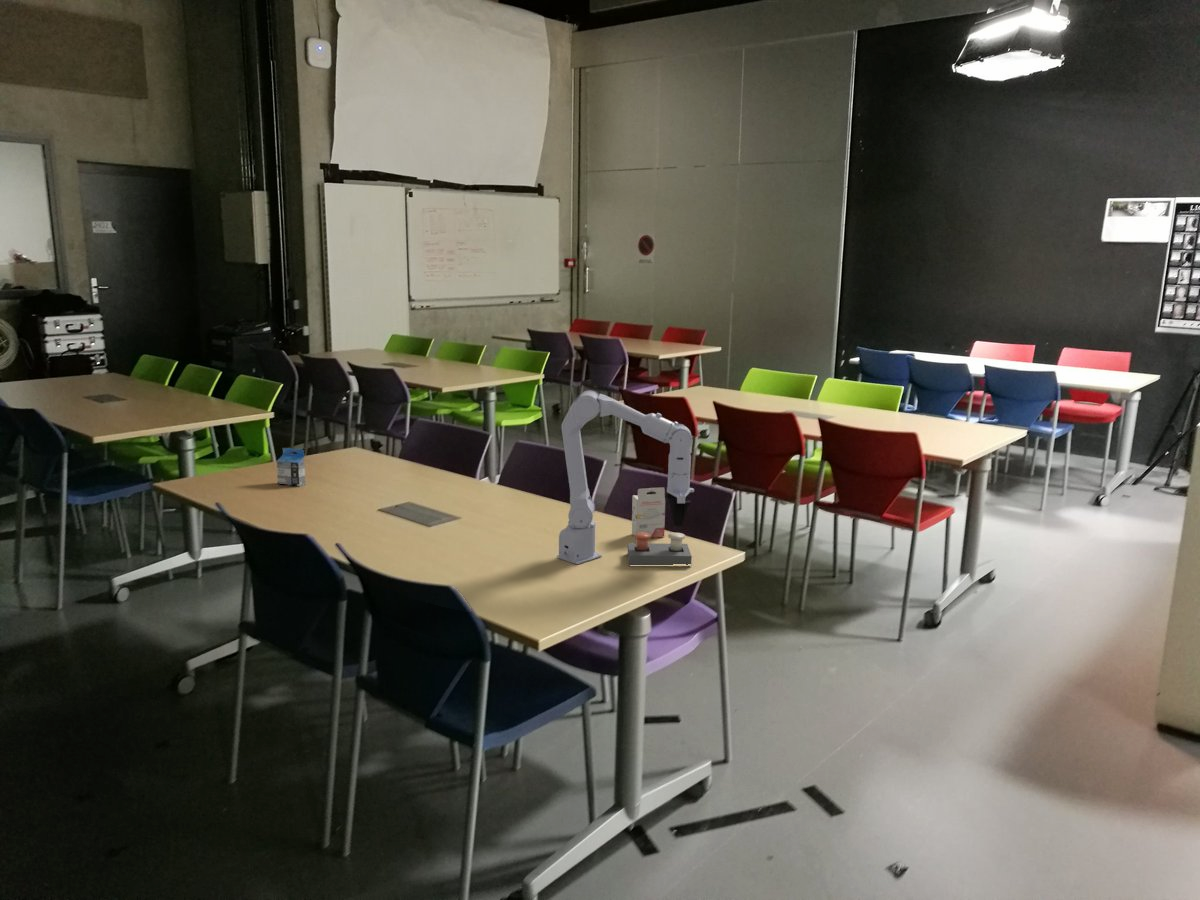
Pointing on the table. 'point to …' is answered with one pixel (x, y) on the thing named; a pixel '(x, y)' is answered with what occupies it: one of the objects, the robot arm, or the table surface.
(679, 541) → the plunger ivory
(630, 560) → the console
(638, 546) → the plunger red
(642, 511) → the ink cartridge box
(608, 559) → the table surface
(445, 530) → the table surface
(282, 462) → the label tape box
